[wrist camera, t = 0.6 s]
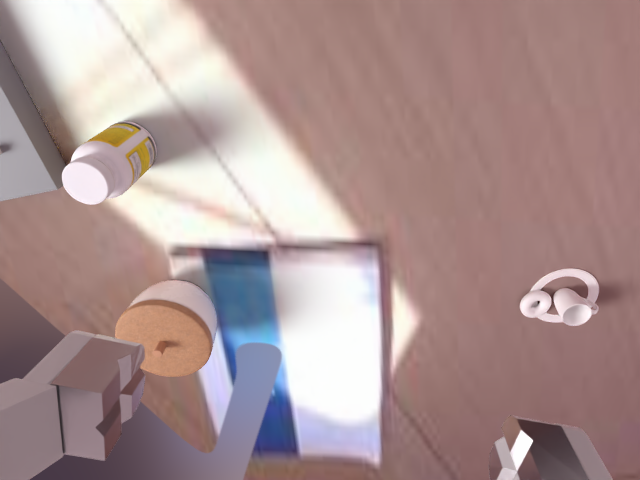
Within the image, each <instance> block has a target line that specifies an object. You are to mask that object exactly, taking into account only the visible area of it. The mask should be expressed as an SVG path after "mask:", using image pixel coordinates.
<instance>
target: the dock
mask: <svg viewBox="0 0 640 480" xmlns="http://www.w3.org/2000/svg"><path fill="white" fill-rule="evenodd" d="M65 167H66V164H65V162H64V160H63V159H62V157H61V155H60V153H59V151H58V149H57V147H56V145H55V143H54V141H53V140H52V138H51V136H50V134H49V132H48V130H47V128H46V126H45V124H44V122H43V121H42V119H41V117H40V115H39V113H38V111H37V109H36V107H35V105H34V104H33V102H32V100H31V98H30V96H29V94H28V92H27V90H26V88H25V86H24V85H23V83H22V81H21V79H20V77H19V75H18V73H17V71H16V69H15V68H14V66H13V64H12V62H11V60H10V58H9V56H8V54H7V52H6V50H5V49H4V47H3V45H2V43H1V41H0V201H4V200H9V199H14V198H18V197H23V196H28V195H33V194H38V193H43V192H48V191H53V190H58V189H59V188H60V187H62V186H63V182H62V172H63V170H64V168H65Z"/></svg>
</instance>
